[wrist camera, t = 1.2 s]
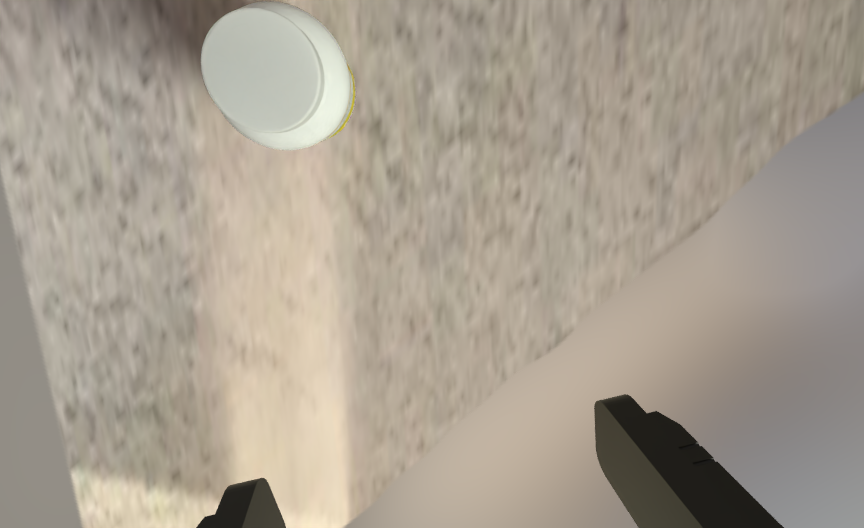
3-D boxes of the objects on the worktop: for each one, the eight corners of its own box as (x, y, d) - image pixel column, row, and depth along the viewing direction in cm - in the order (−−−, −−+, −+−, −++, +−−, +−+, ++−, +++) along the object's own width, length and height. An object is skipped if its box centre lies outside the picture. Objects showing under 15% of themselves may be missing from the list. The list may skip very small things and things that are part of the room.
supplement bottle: (238, 67, 28) (131, 26, 15) (323, 18, 27) (283, -62, 15) (295, 158, 30) (241, 183, 18) (374, 114, 30) (374, 109, 18)
